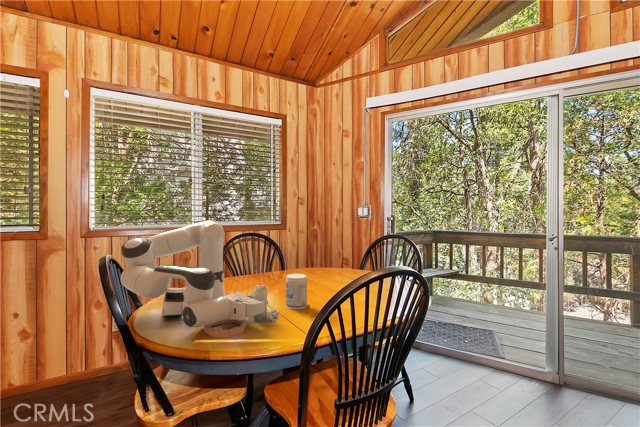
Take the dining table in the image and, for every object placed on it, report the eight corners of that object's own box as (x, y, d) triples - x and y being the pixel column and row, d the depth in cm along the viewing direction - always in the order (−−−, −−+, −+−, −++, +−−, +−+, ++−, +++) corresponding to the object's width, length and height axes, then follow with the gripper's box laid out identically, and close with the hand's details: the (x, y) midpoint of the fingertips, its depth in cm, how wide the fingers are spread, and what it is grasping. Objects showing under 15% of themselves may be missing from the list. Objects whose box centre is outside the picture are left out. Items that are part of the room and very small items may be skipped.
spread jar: (160, 315, 134) (163, 287, 135) (188, 314, 140) (191, 287, 141) (163, 321, 124) (167, 290, 125) (194, 319, 130) (197, 290, 131)
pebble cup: (252, 320, 128) (252, 286, 127) (254, 315, 133) (254, 283, 133) (266, 320, 128) (266, 286, 127) (268, 315, 133) (267, 283, 133)
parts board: (245, 324, 125) (245, 317, 125) (251, 314, 137) (251, 307, 137) (276, 324, 126) (276, 316, 126) (279, 313, 138) (279, 306, 138)
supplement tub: (281, 308, 145) (281, 275, 145) (296, 303, 153) (296, 272, 152) (296, 312, 139) (296, 279, 139) (311, 307, 146) (311, 275, 146)
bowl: (200, 339, 112) (200, 331, 112) (212, 323, 126) (212, 316, 126) (241, 338, 112) (240, 330, 112) (249, 323, 127) (248, 316, 126)
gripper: (216, 308, 127) (246, 301, 137) (244, 321, 113) (275, 312, 123) (215, 293, 127) (246, 287, 137) (244, 304, 113) (275, 296, 123)
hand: (260, 299), depth 130 cm, fingers open, 8 cm apart
